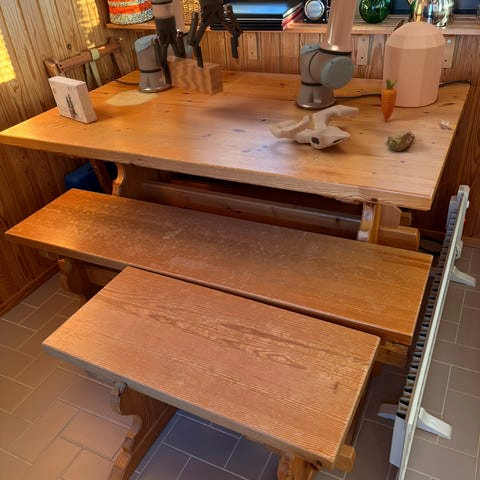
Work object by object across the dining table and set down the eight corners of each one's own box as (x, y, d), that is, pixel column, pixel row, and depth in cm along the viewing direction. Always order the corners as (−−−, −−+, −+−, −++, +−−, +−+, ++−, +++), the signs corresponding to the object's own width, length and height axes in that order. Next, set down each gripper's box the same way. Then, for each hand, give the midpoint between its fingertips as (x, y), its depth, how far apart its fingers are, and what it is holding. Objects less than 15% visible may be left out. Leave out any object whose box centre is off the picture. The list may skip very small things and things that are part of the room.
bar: (163, 83, 180) (159, 59, 175) (174, 79, 183) (170, 55, 178) (212, 95, 163) (209, 68, 158) (223, 91, 166) (220, 64, 161)
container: (406, 111, 172) (416, 29, 156) (369, 96, 188) (375, 22, 172) (449, 99, 178) (463, 20, 162) (410, 86, 194) (419, 13, 178)
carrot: (394, 118, 167) (398, 76, 158) (393, 123, 163) (397, 80, 154) (379, 117, 168) (383, 75, 160) (378, 122, 165) (382, 80, 156)
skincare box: (58, 115, 201) (47, 78, 192) (69, 111, 204) (58, 75, 195) (86, 124, 189) (75, 85, 180) (97, 119, 192) (87, 81, 183)
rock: (408, 140, 153) (379, 139, 152) (414, 122, 149) (384, 120, 148) (421, 154, 144) (391, 153, 143) (428, 135, 140) (396, 133, 139)
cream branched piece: (267, 156, 148) (265, 121, 142) (278, 128, 170) (277, 96, 163) (357, 157, 142) (360, 119, 136) (357, 127, 164) (359, 94, 157)
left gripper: (150, 22, 158) (162, 90, 172) (190, 12, 169) (199, 76, 182) (137, 20, 163) (150, 86, 176) (177, 10, 173) (186, 74, 186)
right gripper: (179, -2, 134) (191, 73, 146) (250, -15, 145) (255, 55, 157) (168, -4, 140) (180, 68, 152) (236, -16, 150) (242, 52, 162)
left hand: (174, 81), depth 179 cm, fingers closed on bar, 5 cm apart
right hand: (218, 62), depth 154 cm, fingers open, 13 cm apart
